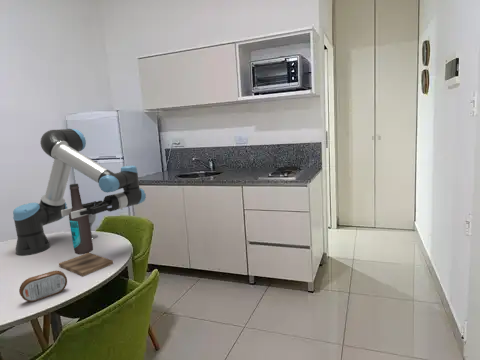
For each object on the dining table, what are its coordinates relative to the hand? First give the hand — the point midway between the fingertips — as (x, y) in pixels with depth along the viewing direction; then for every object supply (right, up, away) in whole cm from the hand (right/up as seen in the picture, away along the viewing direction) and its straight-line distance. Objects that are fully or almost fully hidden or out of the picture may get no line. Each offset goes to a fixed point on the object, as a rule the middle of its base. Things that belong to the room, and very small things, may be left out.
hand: (66, 214), depth 142 cm
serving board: (+5, -23, +8) cm, 25 cm away
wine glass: (-10, -18, +48) cm, 52 cm away
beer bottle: (+4, -17, +7) cm, 19 cm away
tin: (+2, -28, -18) cm, 34 cm away
